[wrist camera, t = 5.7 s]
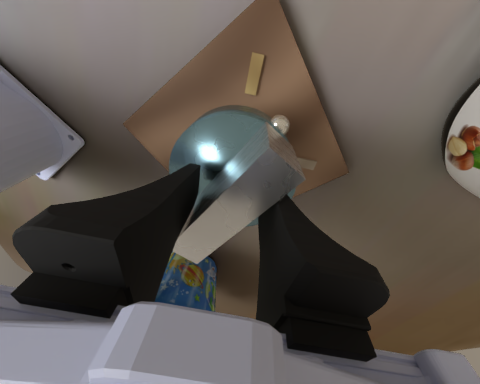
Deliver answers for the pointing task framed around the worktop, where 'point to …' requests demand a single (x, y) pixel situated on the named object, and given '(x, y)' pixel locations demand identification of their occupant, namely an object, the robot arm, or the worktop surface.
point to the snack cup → (189, 283)
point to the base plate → (246, 93)
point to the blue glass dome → (233, 174)
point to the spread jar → (464, 140)
